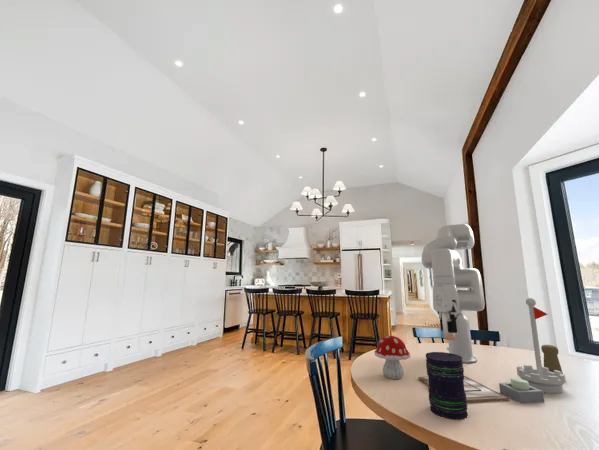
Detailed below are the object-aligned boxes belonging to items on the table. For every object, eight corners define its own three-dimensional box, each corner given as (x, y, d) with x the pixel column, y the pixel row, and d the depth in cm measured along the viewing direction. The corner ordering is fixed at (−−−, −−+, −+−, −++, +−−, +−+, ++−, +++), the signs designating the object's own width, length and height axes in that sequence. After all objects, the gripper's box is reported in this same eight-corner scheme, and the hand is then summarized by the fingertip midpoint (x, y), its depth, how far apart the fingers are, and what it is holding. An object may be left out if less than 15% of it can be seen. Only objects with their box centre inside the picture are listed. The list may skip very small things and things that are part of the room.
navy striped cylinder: (451, 423, 76) (445, 362, 79) (422, 408, 85) (417, 354, 88) (476, 415, 80) (470, 358, 83) (446, 402, 89) (441, 350, 92)
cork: (567, 378, 110) (563, 347, 112) (549, 377, 111) (544, 346, 113) (557, 373, 115) (552, 343, 117) (540, 372, 117) (535, 343, 119)
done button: (508, 390, 95) (507, 378, 95) (521, 390, 95) (519, 378, 96) (520, 396, 90) (518, 383, 91) (534, 395, 91) (532, 383, 91)
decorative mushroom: (380, 369, 122) (378, 331, 125) (415, 374, 115) (412, 334, 118) (370, 379, 110) (368, 337, 113) (409, 385, 104) (406, 340, 106)
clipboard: (417, 379, 110) (417, 375, 110) (463, 377, 112) (462, 373, 112) (453, 403, 88) (452, 398, 88) (509, 400, 90) (508, 395, 90)
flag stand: (509, 382, 105) (499, 297, 110) (535, 379, 109) (524, 296, 114) (549, 396, 93) (536, 299, 98) (577, 392, 96) (563, 299, 102)
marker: (441, 338, 109) (438, 304, 111) (451, 337, 109) (448, 304, 111) (447, 340, 105) (444, 305, 107) (458, 339, 105) (454, 305, 108)
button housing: (500, 392, 96) (499, 383, 97) (522, 391, 97) (521, 382, 97) (520, 403, 88) (519, 392, 89) (544, 401, 89) (543, 391, 90)
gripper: (423, 281, 119) (427, 328, 115) (447, 281, 103) (453, 336, 99) (440, 281, 120) (445, 327, 116) (467, 281, 103) (473, 335, 100)
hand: (448, 331), depth 108 cm, fingers closed on marker, 3 cm apart
